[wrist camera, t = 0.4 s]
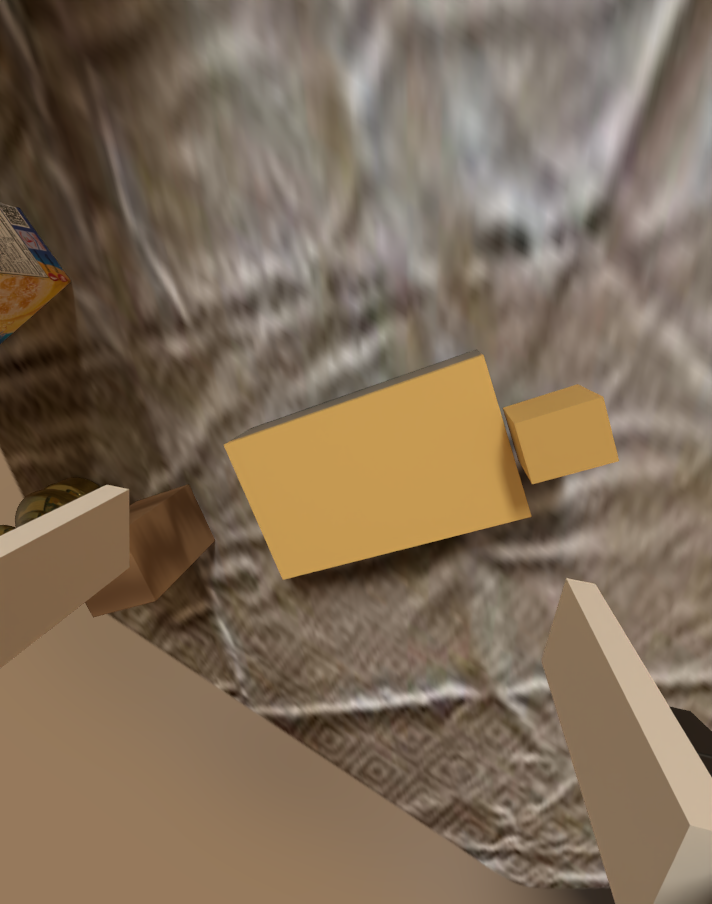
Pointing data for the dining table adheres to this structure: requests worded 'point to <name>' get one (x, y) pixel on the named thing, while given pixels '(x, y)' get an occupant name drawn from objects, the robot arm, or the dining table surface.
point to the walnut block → (156, 550)
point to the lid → (411, 465)
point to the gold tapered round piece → (50, 500)
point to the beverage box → (24, 271)
